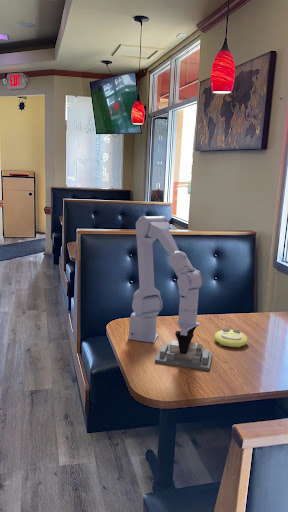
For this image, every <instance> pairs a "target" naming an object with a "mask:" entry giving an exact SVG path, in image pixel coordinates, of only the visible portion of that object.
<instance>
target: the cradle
mask: <svg viewBox="0 0 288 512" xmlns="http://www.w3.org/2000/svg"><path fill="white" fill-rule="evenodd" d="M169 350H170V343H166V342H163V345H161V347H160V349H159V351H158V353H157V355H156V357H155V359H154V363H156V364H161V365H167V366H168V365H169V366H175V367H182V368H187V369H196V370H201V371H208V372H210V368H211V363H212V359H213V352H210V349H208V348H204V351H203V346H202V356H201V360H200V356H196V355H192V360H191V359H184V358H177V357H175V352H169Z"/></svg>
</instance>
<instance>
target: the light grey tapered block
mask: <svg viewBox="0 0 288 512" xmlns="http://www.w3.org/2000/svg"><path fill="white" fill-rule="evenodd" d="M169 346H170V350H169V352H175V357H177V358H184V359H191V360H192V355H196V356H200V360H201V356H202V351H203V349H202V347H203V344H202V343H196V342H195V343H194V342H191V343H190V344H189V348H188V352H187V354H180V351H179V344H178V340H174V339H172V340H171V341H170V343H169Z"/></svg>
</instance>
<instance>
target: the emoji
mask: <svg viewBox="0 0 288 512" xmlns="http://www.w3.org/2000/svg"><path fill="white" fill-rule="evenodd" d="M213 338H214V340H215V341H216V342H217V343H219V345H220V346H225V347H229V348H241V347H243V346H245V345H247V343H248V342H249V338H248V336H247V335H246V334H245V333H243V332H241V331H240V330H238V329H229V328H223V329H221V330H218V331H216V332H215V333H214V335H213Z"/></svg>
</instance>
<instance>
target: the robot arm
mask: <svg viewBox="0 0 288 512" xmlns="http://www.w3.org/2000/svg"><path fill="white" fill-rule="evenodd" d="M170 227H171V224H170V223H169V221H168V219H167V217H166V216H164V215H159V216H157V215H155V216H154V215H153V216H152V215H151V216H148V215H147V216H146V215H144V216H143V215H142V216H140V217H138V220H137V221H136V222H135V236H136V239H135V240H136V243H137V244H136V245H137V262H138V263H137V265H138V281H139V282H138V283H139V284H138V285H139V288H138V289H137V290H136V291H135V292H134V293H133V297H132V298H133V299H132V302H131V306H132V307H131V309H132V311H133V312H132V313H131V314H130V317H129V324H128V325H129V327H128V329H129V330H128V340H131V341H138V342H139V341H140V342H146V343H153V344H154V343H155V342H156V340H157V338H158V336H159V333H157V321H158V315H159V313H160V312H161V310H162V309H163V300H162V297H161V291H160V290H159V289H157V288H156V286H155V270H154V269H155V268H154V252H153V251H154V249H153V243H154V242H155V241H156V239H158V241H159V242H160V244H161V245H162V246H163V248H164V249H165V251H166V252H167V254H168V256H169V259H168V262H169V264H170V266H171V267H172V269H173V271H174V273H175V275H176V277H177V279H176V284H177V287H178V293H179V307H178V318H177V319H178V320H177V326H178V327H179V329H180V330H176V331H175V337H176V341H178V344H179V351H180V354H187V352H188V348H189V344H190V343H192V339H193V337H194V335H195V334H194V331H195V330H196V328H197V327H200V325H201V322H199V321H197V317H198V305H199V291H200V289H201V288H202V286H203V285H204V282H205V280H204V276H203V273H202V272H201V271H200V270H198V269H196V267H193V265H192V263H191V261H190V259H189V258H188V255H187V254H186V252H184V251H182V250H181V251H180V249H179V247H178V245H177V244H176V241H175V240H174V237H173V235H172V234H171V231H170Z"/></svg>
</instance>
